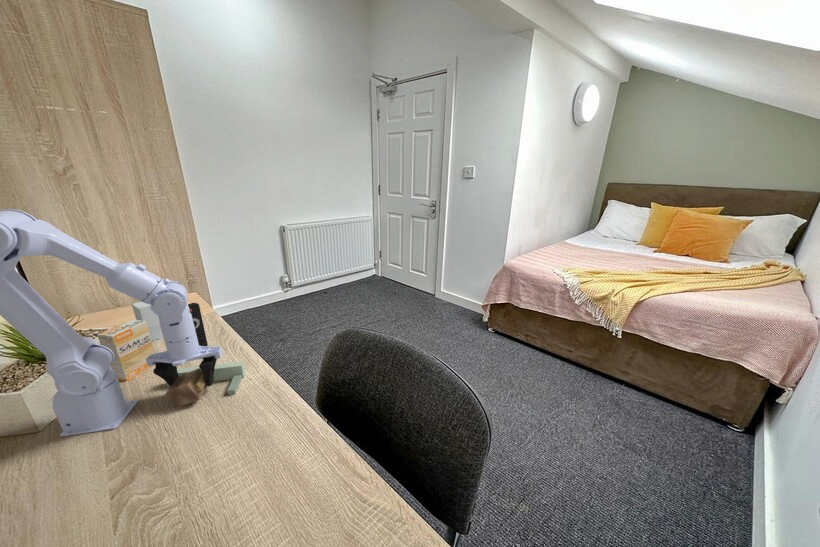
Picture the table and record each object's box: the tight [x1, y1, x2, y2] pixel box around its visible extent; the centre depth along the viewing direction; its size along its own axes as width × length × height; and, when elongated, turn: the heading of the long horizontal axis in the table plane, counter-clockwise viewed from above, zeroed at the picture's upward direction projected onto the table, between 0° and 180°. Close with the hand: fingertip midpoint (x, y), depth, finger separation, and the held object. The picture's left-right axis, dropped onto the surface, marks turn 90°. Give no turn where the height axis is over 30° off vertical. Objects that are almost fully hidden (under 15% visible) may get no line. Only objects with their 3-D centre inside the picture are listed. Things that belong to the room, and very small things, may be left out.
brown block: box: [165, 368, 208, 408], centre depth 71 cm, size 4×6×6 cm
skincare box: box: [131, 301, 164, 344], centre depth 93 cm, size 6×4×12 cm
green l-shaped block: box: [165, 360, 247, 396], centre depth 74 cm, size 17×8×4 cm, turn 103°
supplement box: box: [96, 319, 156, 382], centre depth 78 cm, size 8×5×13 cm, turn 168°
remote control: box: [188, 302, 209, 347], centre depth 87 cm, size 5×2×15 cm, turn 149°
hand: (193, 385), depth 73 cm, fingers closed on brown block, 6 cm apart
